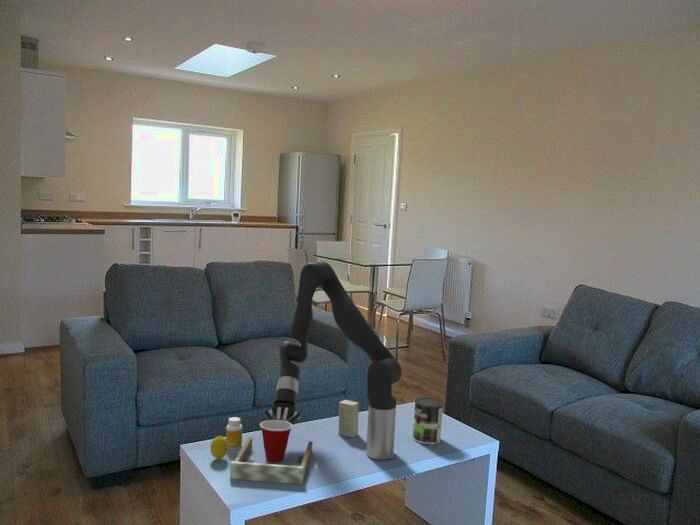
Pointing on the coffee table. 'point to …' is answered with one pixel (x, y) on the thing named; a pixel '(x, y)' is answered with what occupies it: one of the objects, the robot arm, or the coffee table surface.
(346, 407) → the skincare box
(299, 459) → the pads
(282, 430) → the plastic cup
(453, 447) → the coffee table surface
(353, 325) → the robot arm
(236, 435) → the supplement bottle
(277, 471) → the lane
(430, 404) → the coffee can
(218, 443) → the lemon
